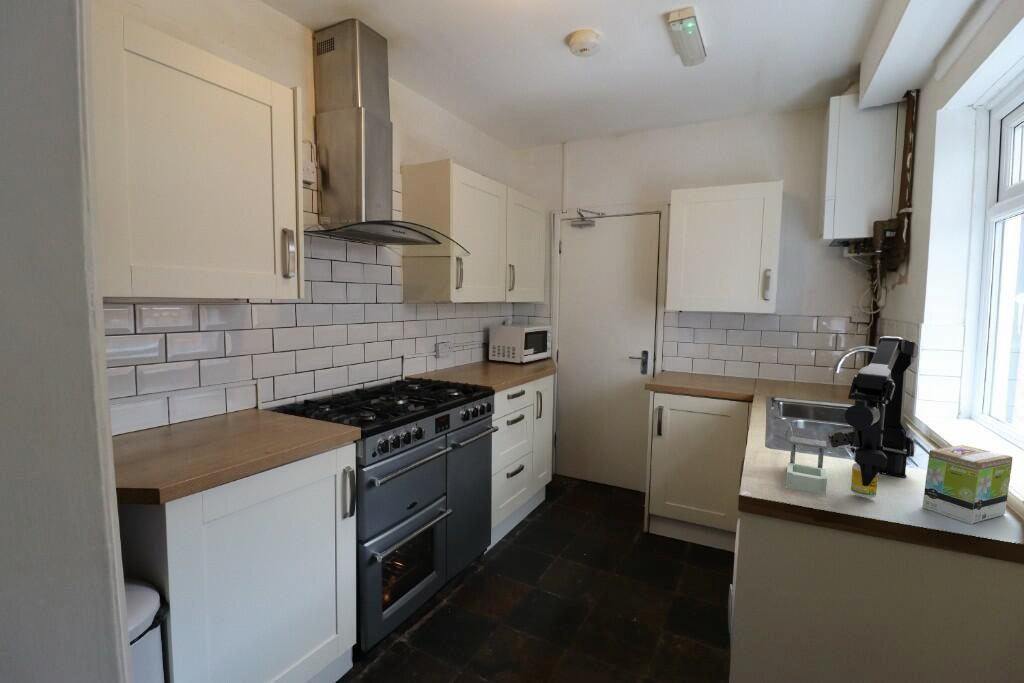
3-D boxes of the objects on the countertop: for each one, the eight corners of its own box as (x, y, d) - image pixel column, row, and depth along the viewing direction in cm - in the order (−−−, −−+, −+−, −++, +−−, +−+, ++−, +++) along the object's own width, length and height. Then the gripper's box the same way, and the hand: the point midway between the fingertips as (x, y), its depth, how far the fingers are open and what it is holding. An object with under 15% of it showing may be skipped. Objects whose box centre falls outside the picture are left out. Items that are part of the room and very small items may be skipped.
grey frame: (823, 469, 140) (825, 441, 140) (824, 475, 135) (826, 446, 135) (788, 463, 145) (790, 436, 144) (787, 468, 140) (789, 441, 139)
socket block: (823, 472, 140) (824, 459, 140) (826, 495, 123) (827, 480, 123) (788, 466, 145) (789, 453, 145) (785, 487, 128) (786, 473, 128)
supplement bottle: (855, 488, 126) (858, 452, 125) (880, 495, 121) (883, 458, 121) (846, 492, 123) (849, 456, 122) (871, 500, 118) (874, 462, 118)
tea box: (973, 526, 108) (980, 462, 106) (920, 508, 117) (926, 449, 116) (1007, 515, 114) (1014, 454, 112) (954, 499, 123) (960, 442, 122)
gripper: (829, 410, 133) (825, 465, 134) (832, 425, 117) (827, 487, 118) (879, 416, 127) (874, 473, 128) (890, 432, 111) (884, 497, 112)
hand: (864, 482), depth 122 cm, fingers closed on supplement bottle, 5 cm apart
